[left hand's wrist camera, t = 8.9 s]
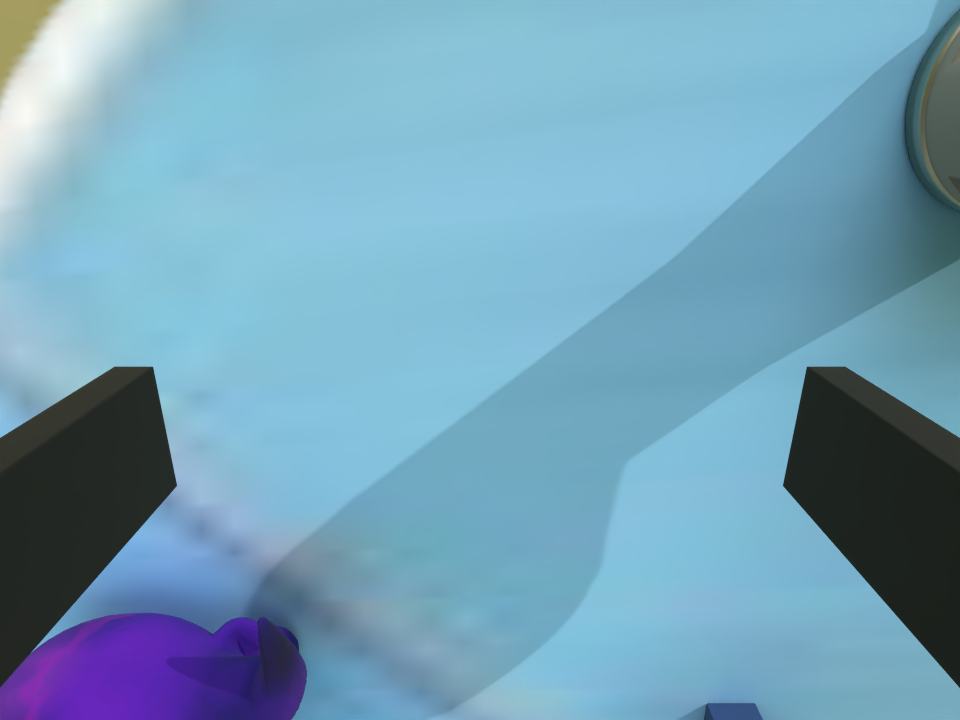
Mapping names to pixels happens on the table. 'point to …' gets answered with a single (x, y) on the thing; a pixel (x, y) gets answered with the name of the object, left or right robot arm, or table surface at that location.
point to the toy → (159, 672)
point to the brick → (732, 712)
